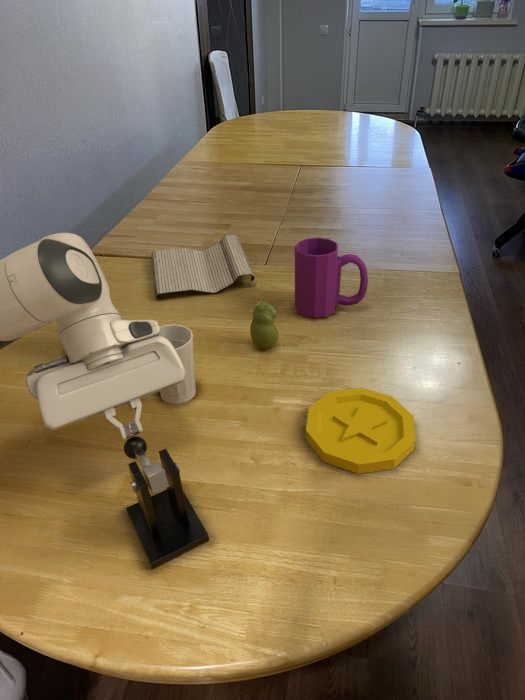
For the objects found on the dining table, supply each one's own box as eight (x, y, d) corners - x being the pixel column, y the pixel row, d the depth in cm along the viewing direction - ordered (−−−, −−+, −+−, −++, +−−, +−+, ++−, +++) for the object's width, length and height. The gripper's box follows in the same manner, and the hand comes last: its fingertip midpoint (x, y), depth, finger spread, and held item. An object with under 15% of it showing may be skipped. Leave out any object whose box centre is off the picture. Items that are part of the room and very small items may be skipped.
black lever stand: (127, 513, 72) (109, 454, 65) (180, 488, 75) (168, 430, 68) (152, 569, 65) (135, 510, 58) (209, 540, 68) (200, 480, 61)
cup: (209, 386, 94) (202, 331, 87) (182, 412, 89) (172, 356, 82) (174, 373, 97) (165, 320, 90) (146, 398, 92) (134, 343, 85)
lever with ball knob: (124, 457, 74) (118, 438, 73) (146, 448, 75) (140, 429, 74) (149, 498, 63) (142, 476, 62) (174, 487, 64) (167, 465, 63)
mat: (152, 260, 138) (149, 243, 135) (239, 249, 142) (237, 233, 139) (156, 302, 120) (153, 284, 117) (255, 289, 123) (254, 271, 120)
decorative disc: (434, 429, 83) (436, 420, 82) (368, 492, 73) (370, 483, 72) (351, 384, 93) (352, 375, 92) (283, 434, 83) (283, 425, 82)
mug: (295, 298, 119) (295, 236, 110) (364, 299, 117) (369, 237, 109) (293, 319, 112) (293, 255, 103) (366, 321, 110) (372, 256, 101)
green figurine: (246, 345, 104) (243, 302, 98) (266, 335, 107) (264, 292, 101) (264, 357, 101) (262, 313, 95) (284, 346, 103) (283, 303, 98)
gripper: (18, 365, 66) (56, 466, 65) (167, 317, 74) (203, 406, 73) (23, 374, 72) (58, 467, 71) (160, 328, 80) (194, 411, 79)
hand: (133, 435), depth 72 cm, fingers closed, pressing on lever with ball knob
